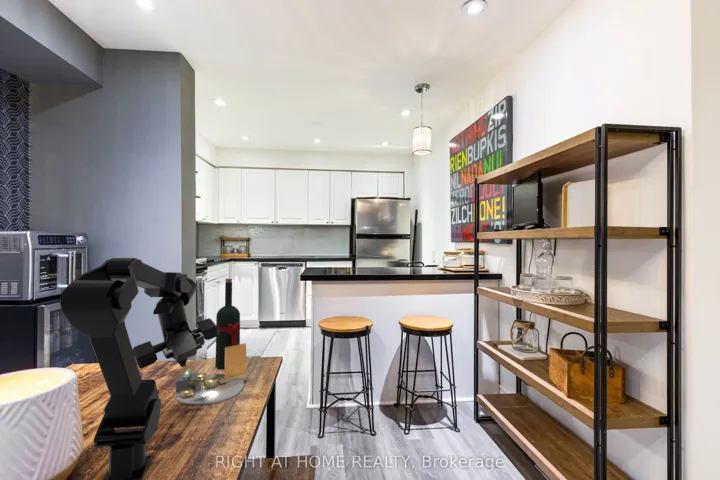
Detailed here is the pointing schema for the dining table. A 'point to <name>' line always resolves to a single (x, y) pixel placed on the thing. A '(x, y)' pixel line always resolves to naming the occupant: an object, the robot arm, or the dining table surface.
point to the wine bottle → (227, 326)
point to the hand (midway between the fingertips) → (183, 365)
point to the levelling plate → (204, 389)
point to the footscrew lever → (231, 366)
